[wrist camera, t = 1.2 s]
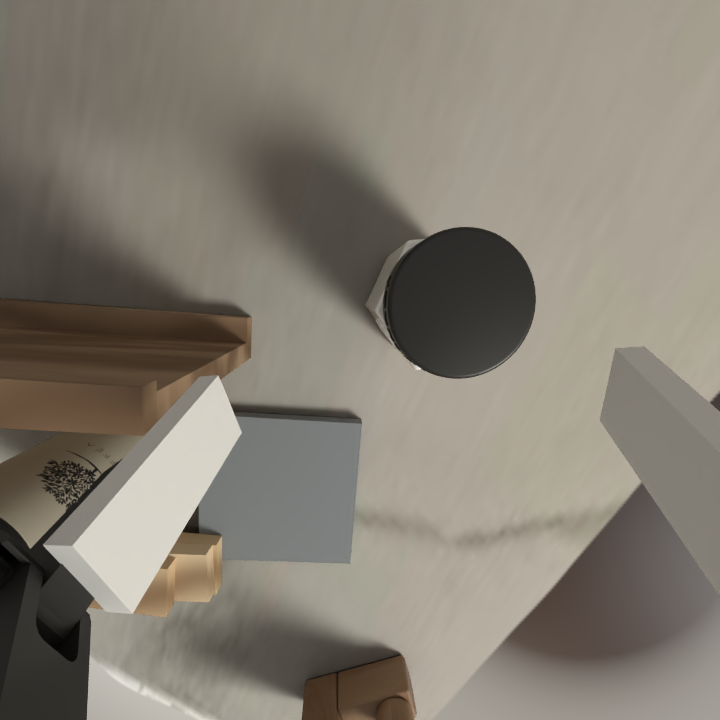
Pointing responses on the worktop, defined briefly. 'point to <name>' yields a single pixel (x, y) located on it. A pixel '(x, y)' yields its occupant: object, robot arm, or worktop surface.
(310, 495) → the mat
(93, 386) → the wooden board
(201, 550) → the offcut stack
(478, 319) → the jar
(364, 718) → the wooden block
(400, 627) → the worktop surface
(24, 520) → the travel mug
